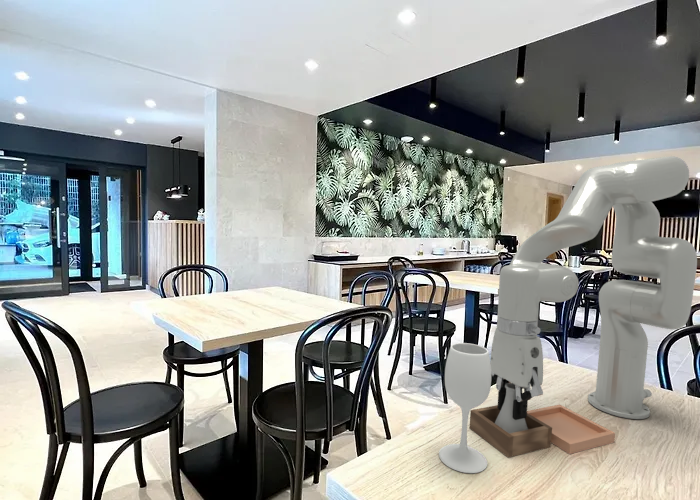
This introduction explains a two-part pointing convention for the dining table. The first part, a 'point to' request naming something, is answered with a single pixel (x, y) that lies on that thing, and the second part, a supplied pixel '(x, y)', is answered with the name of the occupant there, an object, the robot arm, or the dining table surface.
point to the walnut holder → (513, 442)
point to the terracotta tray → (572, 429)
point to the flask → (510, 413)
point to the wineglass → (466, 400)
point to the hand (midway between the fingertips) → (511, 412)
